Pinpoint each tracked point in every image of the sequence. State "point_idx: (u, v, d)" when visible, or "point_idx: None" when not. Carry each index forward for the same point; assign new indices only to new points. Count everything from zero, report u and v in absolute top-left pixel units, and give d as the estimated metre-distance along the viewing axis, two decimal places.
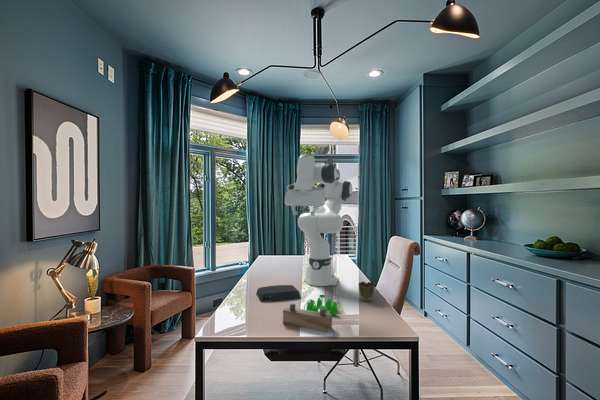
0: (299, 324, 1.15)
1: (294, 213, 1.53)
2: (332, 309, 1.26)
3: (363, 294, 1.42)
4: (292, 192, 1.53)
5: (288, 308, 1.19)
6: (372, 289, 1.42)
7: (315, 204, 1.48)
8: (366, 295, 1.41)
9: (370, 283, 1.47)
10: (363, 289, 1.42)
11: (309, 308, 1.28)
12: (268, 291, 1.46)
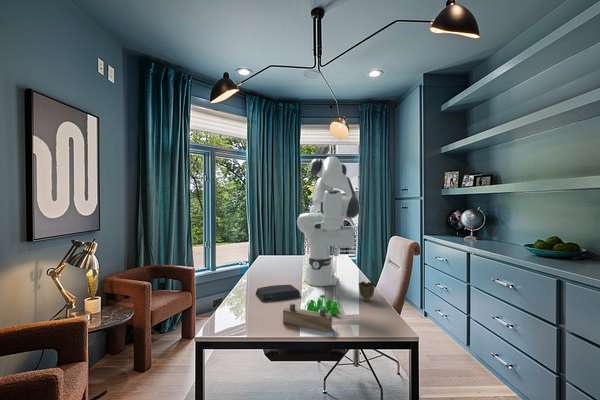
0: (299, 324, 1.15)
1: (327, 254, 1.42)
2: (333, 309, 1.26)
3: (363, 294, 1.42)
4: (319, 231, 1.42)
5: (288, 308, 1.19)
6: (372, 289, 1.42)
7: (345, 245, 1.37)
8: (366, 295, 1.41)
9: (370, 283, 1.47)
10: (363, 289, 1.42)
11: (310, 308, 1.28)
12: (269, 291, 1.46)
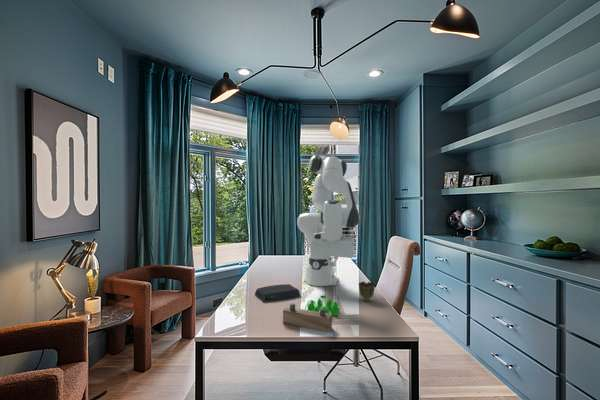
0: (299, 324, 1.15)
1: (330, 264, 1.41)
2: (333, 310, 1.25)
3: (363, 294, 1.42)
4: (319, 241, 1.42)
5: (288, 308, 1.19)
6: (372, 289, 1.42)
7: (345, 256, 1.37)
8: (366, 295, 1.41)
9: (370, 283, 1.47)
10: (363, 289, 1.42)
11: (310, 309, 1.27)
12: (269, 291, 1.46)
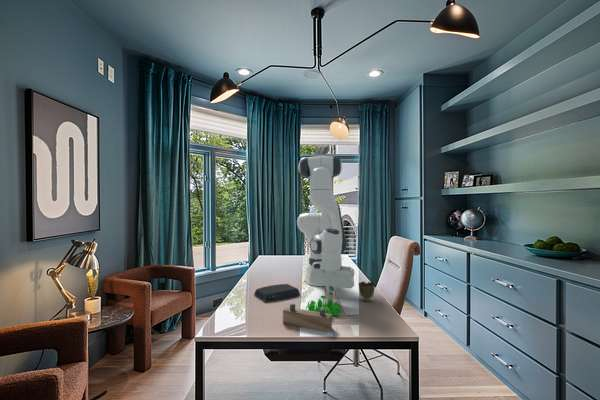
0: (299, 324, 1.15)
1: (329, 294, 1.41)
2: (334, 310, 1.25)
3: (363, 294, 1.42)
4: (318, 271, 1.41)
5: (288, 308, 1.19)
6: (372, 289, 1.42)
7: (344, 286, 1.37)
8: (366, 295, 1.41)
9: (370, 283, 1.47)
10: (363, 289, 1.42)
11: (311, 310, 1.27)
12: (270, 291, 1.46)
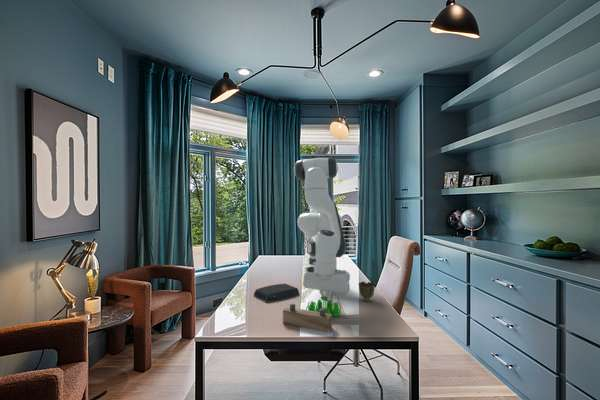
0: (299, 324, 1.15)
1: None
2: (335, 311, 1.24)
3: (363, 294, 1.42)
4: (312, 275, 1.34)
5: (288, 308, 1.19)
6: (372, 289, 1.42)
7: (339, 291, 1.30)
8: (366, 295, 1.41)
9: (370, 283, 1.47)
10: (363, 289, 1.42)
11: None
12: (270, 291, 1.46)
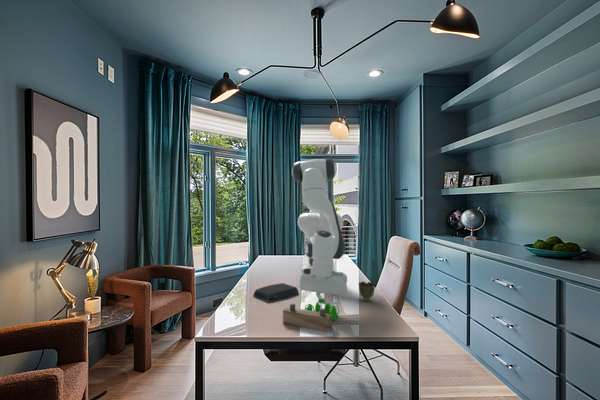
0: (299, 324, 1.15)
1: None
2: (332, 314, 1.20)
3: (363, 294, 1.42)
4: (308, 277, 1.31)
5: (288, 308, 1.19)
6: (372, 289, 1.42)
7: (336, 293, 1.27)
8: (366, 295, 1.41)
9: (370, 283, 1.47)
10: (363, 289, 1.42)
11: None
12: (271, 291, 1.46)
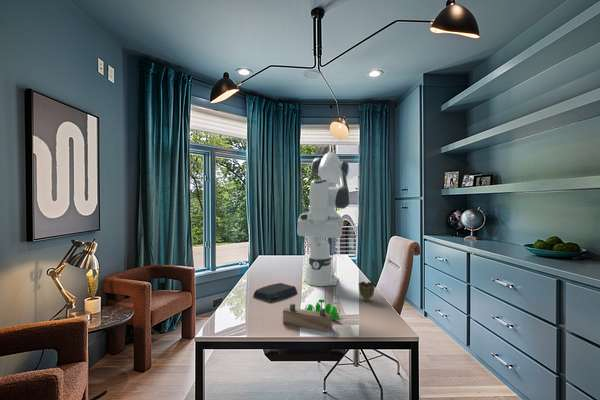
0: (299, 324, 1.15)
1: (317, 245, 1.38)
2: (333, 314, 1.20)
3: (363, 294, 1.42)
4: (305, 222, 1.38)
5: (288, 308, 1.19)
6: (372, 289, 1.42)
7: (332, 236, 1.34)
8: (366, 295, 1.41)
9: (370, 283, 1.47)
10: (363, 289, 1.42)
11: None
12: (271, 291, 1.46)
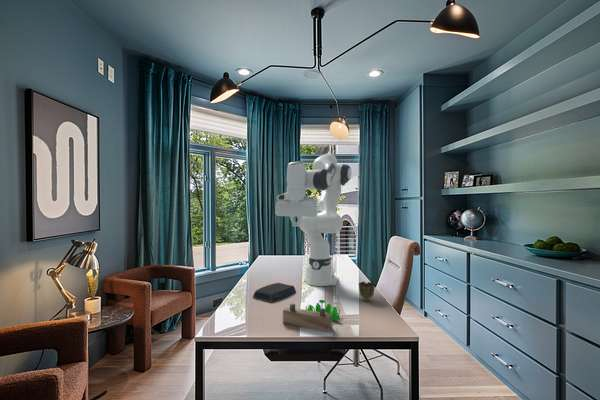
0: (299, 324, 1.15)
1: (293, 224, 1.43)
2: (333, 315, 1.20)
3: (363, 294, 1.42)
4: (282, 202, 1.44)
5: (288, 308, 1.19)
6: (372, 289, 1.42)
7: (307, 215, 1.39)
8: (366, 295, 1.41)
9: (370, 283, 1.47)
10: (363, 289, 1.42)
11: None
12: (272, 291, 1.46)
